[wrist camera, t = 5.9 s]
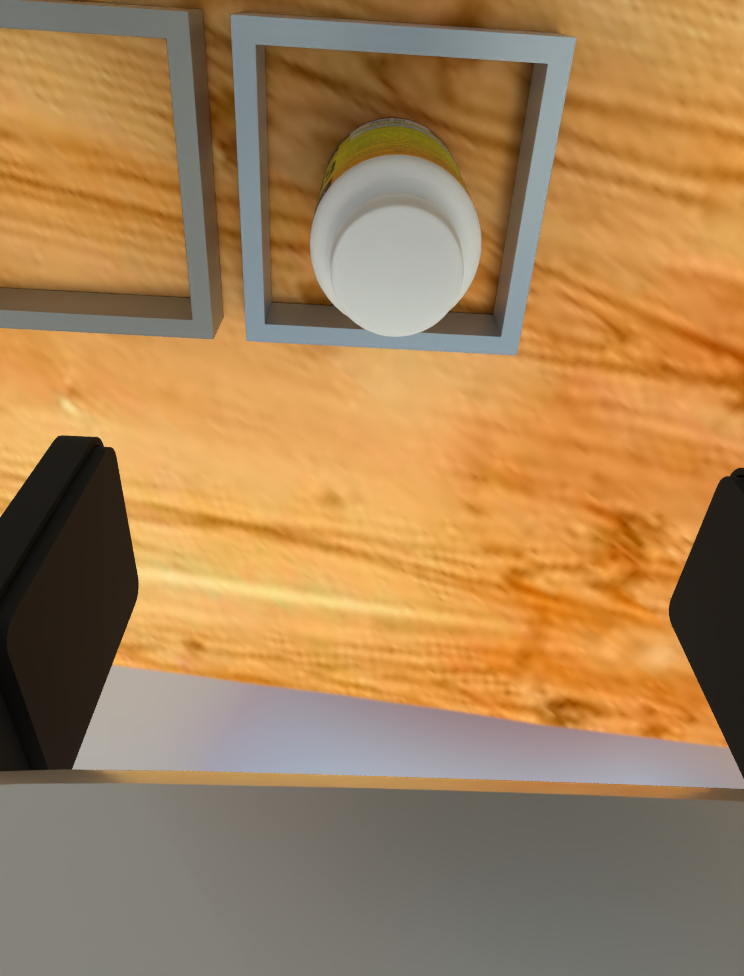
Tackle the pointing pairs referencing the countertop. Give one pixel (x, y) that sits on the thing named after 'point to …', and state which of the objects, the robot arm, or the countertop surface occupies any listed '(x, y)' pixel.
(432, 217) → the supplement bottle
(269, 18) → the blue-grey square frame
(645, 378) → the countertop surface
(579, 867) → the robot arm
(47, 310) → the grey open square frame
